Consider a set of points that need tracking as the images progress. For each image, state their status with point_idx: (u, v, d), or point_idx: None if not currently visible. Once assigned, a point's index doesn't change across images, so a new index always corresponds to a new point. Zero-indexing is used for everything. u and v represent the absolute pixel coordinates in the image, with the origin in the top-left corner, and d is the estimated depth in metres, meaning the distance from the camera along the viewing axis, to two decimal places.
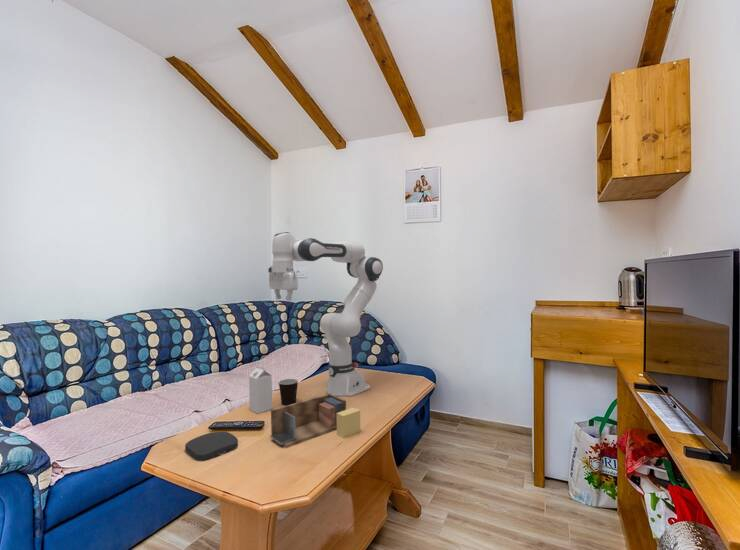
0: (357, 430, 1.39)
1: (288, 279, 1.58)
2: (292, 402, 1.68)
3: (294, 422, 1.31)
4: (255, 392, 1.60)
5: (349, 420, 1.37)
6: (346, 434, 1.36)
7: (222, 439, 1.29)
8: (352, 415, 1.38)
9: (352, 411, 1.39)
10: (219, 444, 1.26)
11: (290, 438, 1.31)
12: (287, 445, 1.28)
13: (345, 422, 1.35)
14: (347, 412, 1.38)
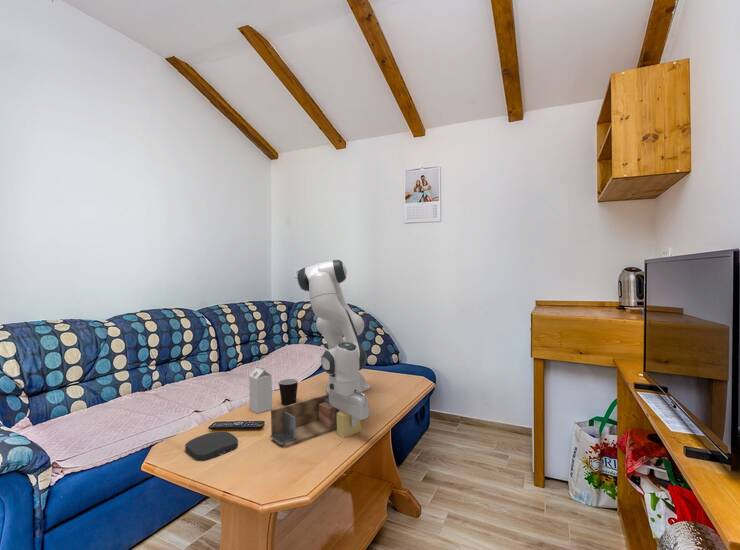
0: (357, 430, 1.39)
1: (358, 406, 1.31)
2: (292, 402, 1.68)
3: (294, 422, 1.31)
4: (255, 392, 1.60)
5: (349, 420, 1.37)
6: (346, 433, 1.36)
7: (222, 439, 1.29)
8: None
9: None
10: (219, 444, 1.26)
11: (290, 438, 1.31)
12: (287, 445, 1.28)
13: (345, 422, 1.35)
14: None
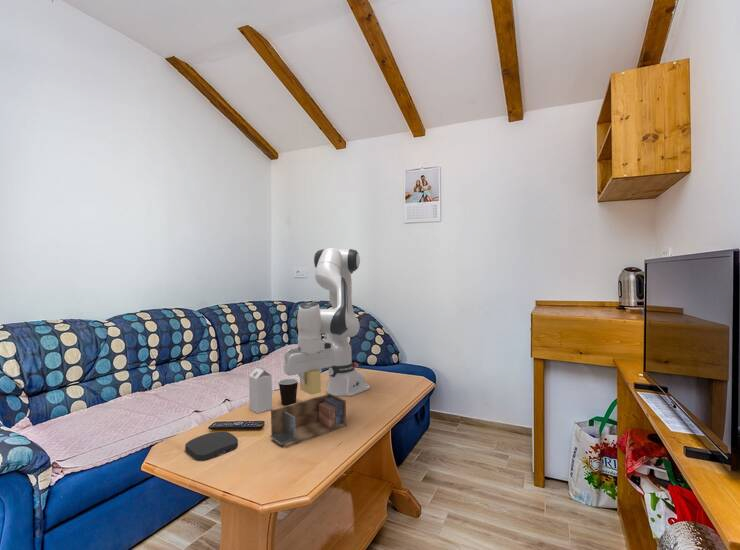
0: (309, 391, 1.37)
1: None
2: (292, 402, 1.68)
3: (294, 422, 1.31)
4: (255, 392, 1.60)
5: (303, 376, 1.39)
6: (302, 388, 1.40)
7: (222, 439, 1.29)
8: (306, 373, 1.38)
9: (309, 371, 1.38)
10: (219, 444, 1.26)
11: (290, 438, 1.31)
12: (287, 445, 1.28)
13: None
14: None
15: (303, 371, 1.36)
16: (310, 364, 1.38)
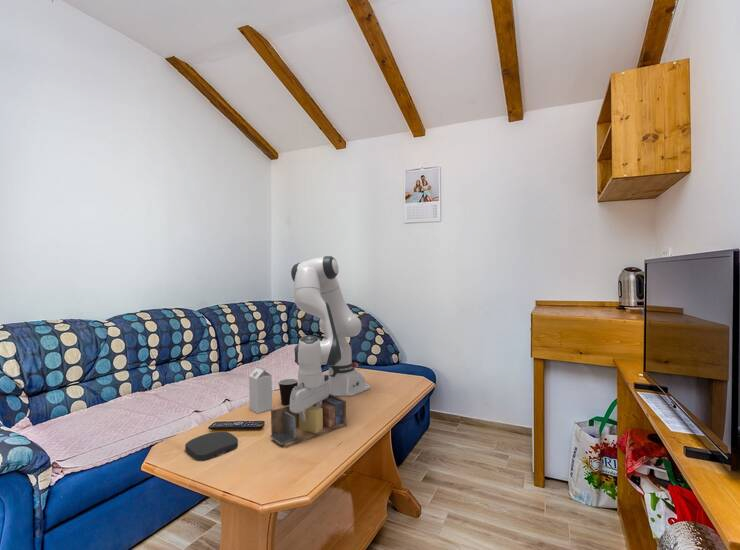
0: (313, 430, 1.37)
1: None
2: None
3: (294, 422, 1.31)
4: (255, 392, 1.60)
5: None
6: (302, 427, 1.40)
7: (222, 440, 1.29)
8: (308, 412, 1.38)
9: (311, 409, 1.39)
10: (219, 444, 1.26)
11: (290, 438, 1.31)
12: (287, 445, 1.28)
13: None
14: (308, 408, 1.40)
15: (307, 406, 1.36)
16: (313, 398, 1.38)
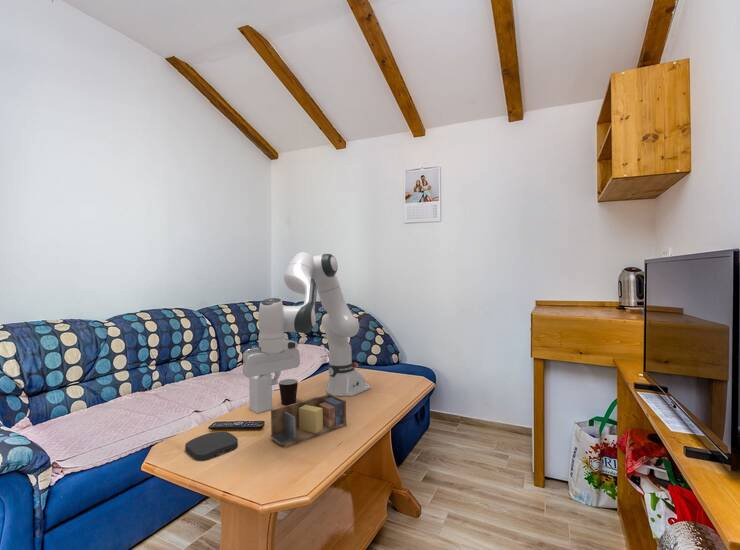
0: (313, 430, 1.37)
1: None
2: (292, 402, 1.68)
3: (294, 422, 1.31)
4: (255, 392, 1.60)
5: (305, 415, 1.39)
6: (302, 427, 1.40)
7: (222, 439, 1.29)
8: (308, 412, 1.38)
9: (311, 409, 1.39)
10: (219, 444, 1.26)
11: (290, 438, 1.31)
12: (287, 445, 1.28)
13: (300, 415, 1.40)
14: (308, 408, 1.40)
15: (264, 372, 1.26)
16: (272, 365, 1.28)
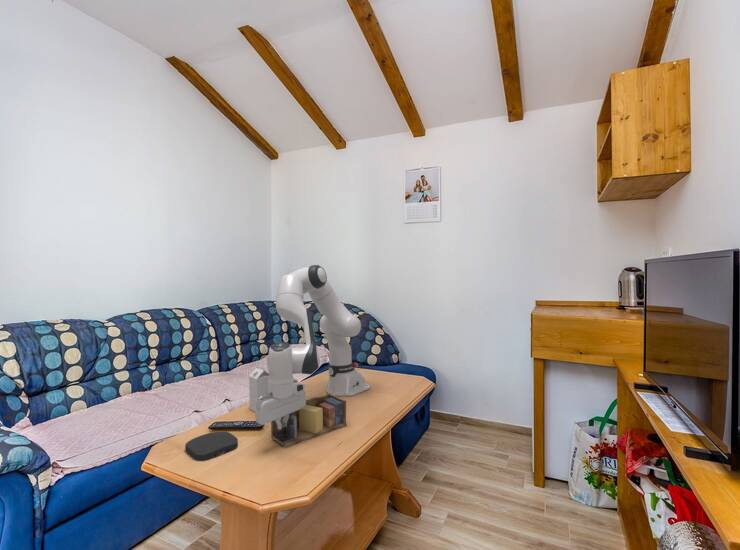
0: (313, 430, 1.37)
1: None
2: None
3: (295, 422, 1.32)
4: (255, 392, 1.60)
5: (305, 415, 1.39)
6: (302, 427, 1.40)
7: (222, 440, 1.29)
8: (308, 412, 1.38)
9: (311, 409, 1.39)
10: (219, 444, 1.26)
11: (291, 438, 1.32)
12: (287, 445, 1.28)
13: (300, 415, 1.40)
14: (308, 408, 1.40)
15: (276, 418, 1.28)
16: (283, 409, 1.31)
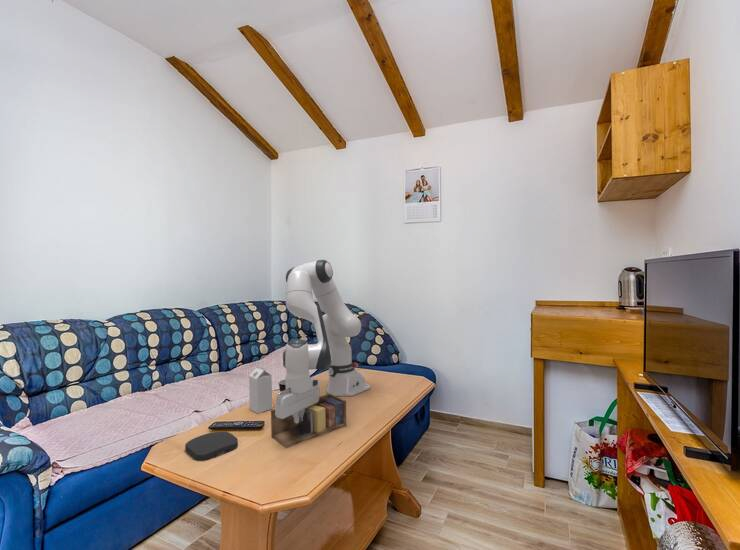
0: (315, 429, 1.38)
1: None
2: None
3: (311, 417, 1.36)
4: (255, 392, 1.60)
5: None
6: None
7: (222, 440, 1.29)
8: None
9: (314, 408, 1.39)
10: (219, 444, 1.26)
11: (307, 432, 1.36)
12: (287, 445, 1.28)
13: None
14: (312, 407, 1.41)
15: (294, 412, 1.33)
16: (300, 404, 1.35)
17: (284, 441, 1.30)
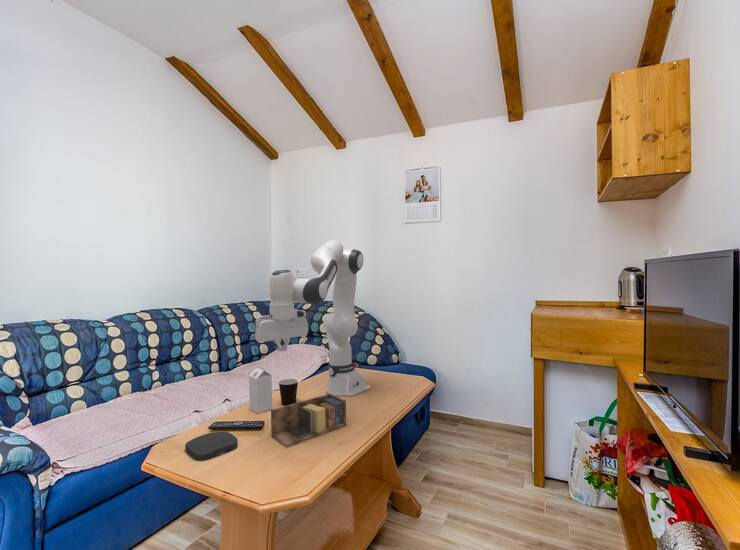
0: (315, 429, 1.38)
1: None
2: (292, 402, 1.68)
3: (311, 417, 1.36)
4: (255, 392, 1.60)
5: None
6: None
7: (221, 440, 1.29)
8: None
9: (314, 408, 1.39)
10: (218, 444, 1.26)
11: (307, 432, 1.36)
12: (287, 445, 1.28)
13: None
14: (312, 407, 1.41)
15: (275, 338, 1.35)
16: (282, 332, 1.37)
17: (284, 441, 1.30)
